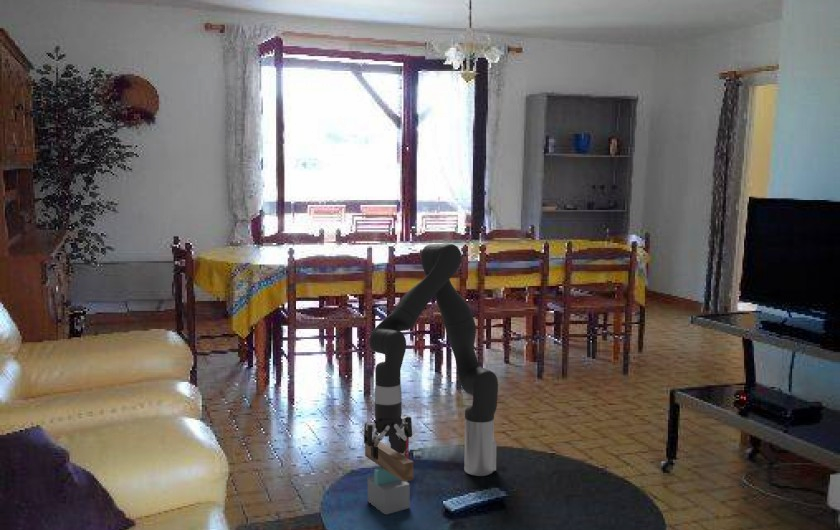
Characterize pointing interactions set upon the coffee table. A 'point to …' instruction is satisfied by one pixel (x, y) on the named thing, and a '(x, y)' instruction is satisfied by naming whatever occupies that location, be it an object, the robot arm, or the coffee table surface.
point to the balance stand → (388, 492)
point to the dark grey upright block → (395, 442)
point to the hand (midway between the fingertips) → (388, 455)
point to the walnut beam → (392, 461)
